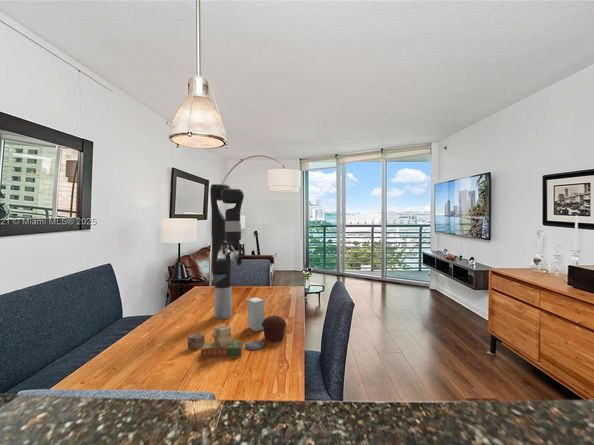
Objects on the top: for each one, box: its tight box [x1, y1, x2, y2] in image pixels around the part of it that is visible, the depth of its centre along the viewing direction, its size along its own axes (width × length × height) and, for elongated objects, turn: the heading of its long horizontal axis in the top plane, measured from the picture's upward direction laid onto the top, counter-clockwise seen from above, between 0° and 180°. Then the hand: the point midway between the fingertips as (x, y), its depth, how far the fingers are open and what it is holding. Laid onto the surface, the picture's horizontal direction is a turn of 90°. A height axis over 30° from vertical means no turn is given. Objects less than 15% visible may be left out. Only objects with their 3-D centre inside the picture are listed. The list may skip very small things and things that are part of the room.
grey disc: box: [244, 340, 265, 351], centre depth 137 cm, size 8×8×1 cm
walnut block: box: [187, 332, 206, 351], centre depth 137 cm, size 5×5×5 cm
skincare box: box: [246, 296, 266, 332], centre depth 158 cm, size 8×6×15 cm
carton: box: [200, 339, 244, 359], centre depth 130 cm, size 8×16×4 cm, turn 95°
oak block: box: [213, 323, 232, 347], centre depth 131 cm, size 5×5×7 cm
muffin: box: [261, 315, 287, 343], centre depth 146 cm, size 12×11×10 cm
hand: (233, 264), depth 150 cm, fingers open, 8 cm apart
